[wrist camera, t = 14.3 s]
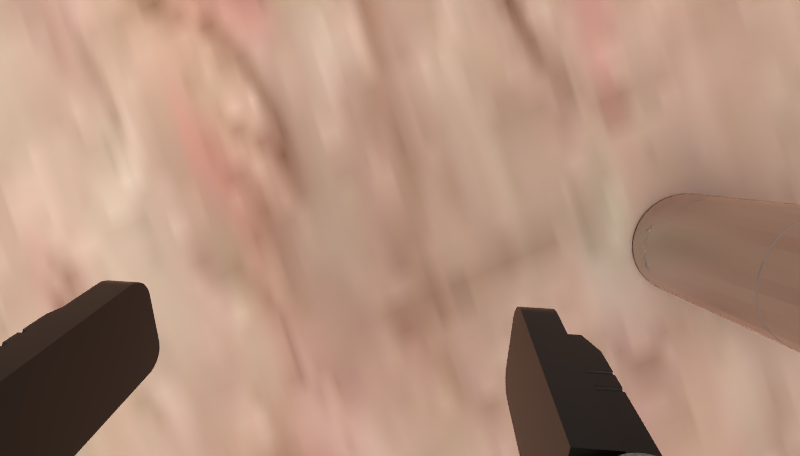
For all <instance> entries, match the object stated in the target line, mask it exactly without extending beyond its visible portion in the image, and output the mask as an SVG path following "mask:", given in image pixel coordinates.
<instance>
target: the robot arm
mask: <svg viewBox="0 0 800 456" xmlns="http://www.w3.org/2000/svg"><path fill="white" fill-rule="evenodd" d="M633 255H634V259H635V262H636V265H637V267H638V269H639V270H640V272H641V273H642V275H643V276H644V277H645V278H646V279H647V280H648V281H650V282H651V283H652V284H654V285H655V286H658V287H660V288H662V289H664V290H666V291H668V292H670V293H673V294H675V295H677V296H679V297H681V298H683V299H685V300H687V301H689V302H692V303H694V304H696V305H698V306H700V307H702V308H705V309H707V310H709V311H711V312H713V313H715V314H718V315H720V316H722V317H724V318H726V319H728V320H731V321H733V322H735V323H737V324H739V325H741V326H744V327H746V328H748V329H750V330H752V331H754V332H757V333H759V334H761V335H763V336H765V337H767V338H770V339H772V340H774V341H776V342H778V343H780V344H783V345H785V346H787V347H789V348H791V349H794V350H796V351H798V352H800V205H797V204H787V203H777V202H767V201H756V200H746V199H736V198H726V197H717V196H706V195H696V194H680V195H675V196H670V197H668V198H666V199H664V200H661V201H660V202H658V203H657V204H655V205H654V206H652V207H651V208H650V209H649V210H648V211H647V212H646V213H645V215H644V216H643V217H642V219H641V221H640V222H639V224H638V226H637V229H636V231H635V234H634V240H633ZM158 355H159V339H158V334H157V329H156V324H155V319H154V314H153V309H152V304H151V299H150V294H149V291H148V288H147V287H146V286H145V285H144V284H143V283H139V282H124V281H102V282H100V283H98V284H97V285H95V286H94V287H92V288H91V289H89V290H88V291H86V292H85V293H83V294H82V295H80V296H79V297H77V298H76V299H74V300H73V301H71V302H70V303H68V304H66V305H65V306H63V307H62V308H59V309H57V310H54V311H52V312H50V313H47V314H46V315H44V316H43V317H41V318H39V319H38V320H36V321H35V322H33V323H32V324H30V325H29V326H27V327H26V328H24V329H23V332H22V333H16V334H15V335H13V336H12V337H10V338H9V339H7V340H6V341H4V342H3V344H2V346H0V456H75V455H76V454H77V453H78V451H79V450H80V449H81V448H82V447H83V446H84V445H85V444H86V443H87V442H88V440H89V439H90V438H91V437H92V436H93V435H94V434H95V433H96V432H97V431H98V429H99V428H100V427H101V426H102V425H103V424H104V423H105V422H106V421H107V420H108V418H109V417H110V416H111V415H112V414H113V413H114V412H115V411H116V410H117V409H118V407H119V406H120V405H121V404H122V403H123V402H124V401H125V400H126V399H127V398H128V396H129V395H130V394H131V393H132V392H133V391H134V390H135V389H136V388H137V386H138V385H139V384H140V383H141V382H142V381H143V380H144V379H145V378H146V377H147V375H148V374H149V373H150V372H151V371H152V369H153V368H154V366H155V364H156V361H157V358H158ZM612 372H613V371H612V369H611V368H610V366H609V364H608V363H607V361H606V359H605V357H604V356H603V354H602V352H601V351H600V350H598V349H597V348H596V347H595V346H594V345H592V344H591V343H590V342H589V341H588V340H586V339H585V338H584V337H583V336H582V335H572V334H567V332H566V330H565V328H564V326H563V324H562V322H561V320H560V318H559V316H558V314H557V312H556V311H555V310H554V309H545V308H529V307H517V308H516V310H515V313H514V318H513V324H512V331H511V338H510V345H509V352H508V359H507V366H506V395H507V401H508V405H509V410H510V414H511V418H512V423H513V427H514V432H515V436H516V441H517V445H518V450H519V454H520V456H662V455H661V453H660V451H659V450H658V448H657V446H656V444H655V443H654V441H653V439H652V438H651V436H650V434H649V433H648V431H647V429H646V427H645V426H644V424H643V422H642V421H641V419H640V417H639V415H638V414H637V412H636V410H635V409H634V407H633V405H632V404H631V402H630V400H629V398H628V397H627V395H626V393H625V392H622V386H621V385H620V383H619V381H618V380H617V378H616V376H615V375H613V374H612Z"/></svg>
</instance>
